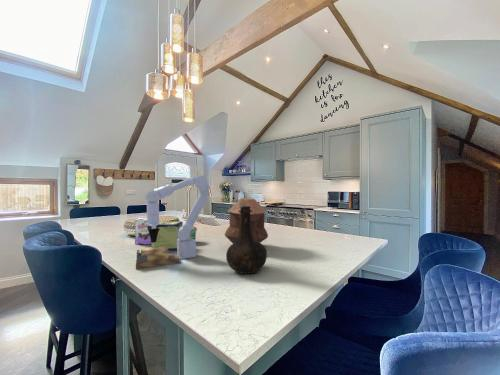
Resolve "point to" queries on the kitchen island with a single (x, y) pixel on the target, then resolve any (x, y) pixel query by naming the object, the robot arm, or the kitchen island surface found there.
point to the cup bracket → (141, 257)
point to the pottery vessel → (256, 220)
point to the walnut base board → (158, 262)
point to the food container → (193, 233)
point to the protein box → (168, 235)
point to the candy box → (142, 232)
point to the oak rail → (155, 253)
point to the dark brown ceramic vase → (246, 247)
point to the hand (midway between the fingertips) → (153, 240)
